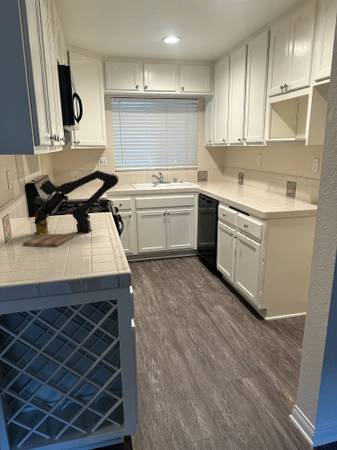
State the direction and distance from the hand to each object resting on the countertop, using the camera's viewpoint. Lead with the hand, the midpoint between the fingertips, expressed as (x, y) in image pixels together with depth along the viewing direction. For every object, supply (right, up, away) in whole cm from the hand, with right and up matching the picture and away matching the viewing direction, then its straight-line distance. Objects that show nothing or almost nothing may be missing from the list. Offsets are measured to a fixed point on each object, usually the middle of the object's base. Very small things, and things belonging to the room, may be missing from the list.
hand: (36, 222), depth 170 cm
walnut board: (+12, -10, -13) cm, 20 cm away
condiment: (+2, -7, +2) cm, 7 cm away
